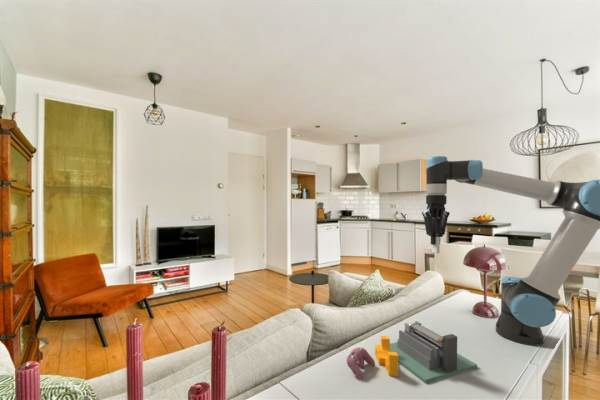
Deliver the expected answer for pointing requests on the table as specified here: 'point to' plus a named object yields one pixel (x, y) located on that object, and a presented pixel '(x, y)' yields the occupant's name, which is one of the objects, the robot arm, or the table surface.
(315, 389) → the table surface
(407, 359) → the heat sink board
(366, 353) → the video game controller
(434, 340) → the retention strap
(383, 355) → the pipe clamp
